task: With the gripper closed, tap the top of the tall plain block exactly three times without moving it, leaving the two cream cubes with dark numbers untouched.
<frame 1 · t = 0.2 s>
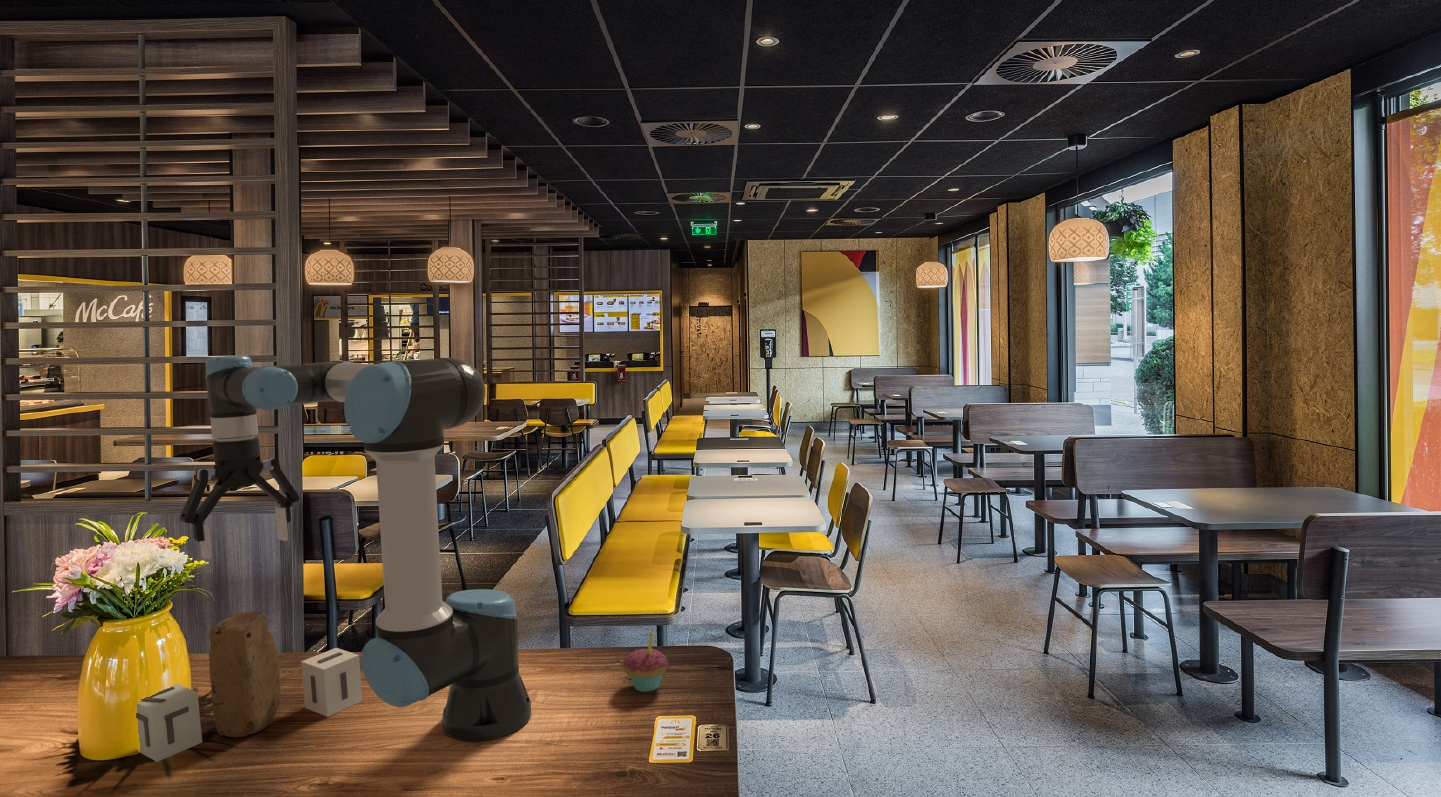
hand: (246, 548, 156), 28 cm above the table, tool pointing down, fingers open, 13 cm apart
numbered cube one: (333, 704, 153), on the table
numbered cube seven: (169, 746, 139), on the table
block: (251, 725, 146), on the table
cupcake: (646, 687, 157), on the table
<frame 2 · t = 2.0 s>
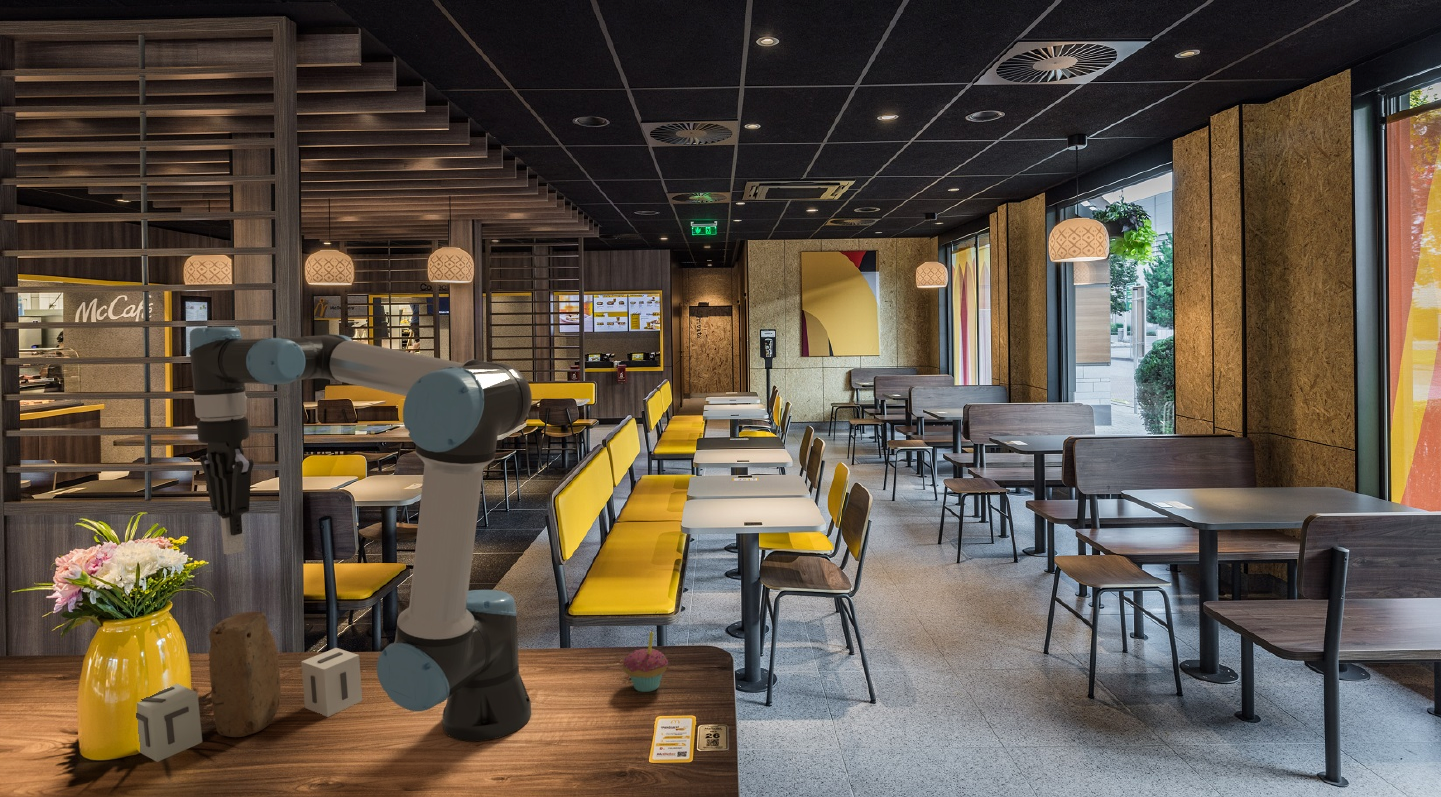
hand: (234, 551, 142), 32 cm above the table, tool pointing down, fingers closed
nothing on the table moved.
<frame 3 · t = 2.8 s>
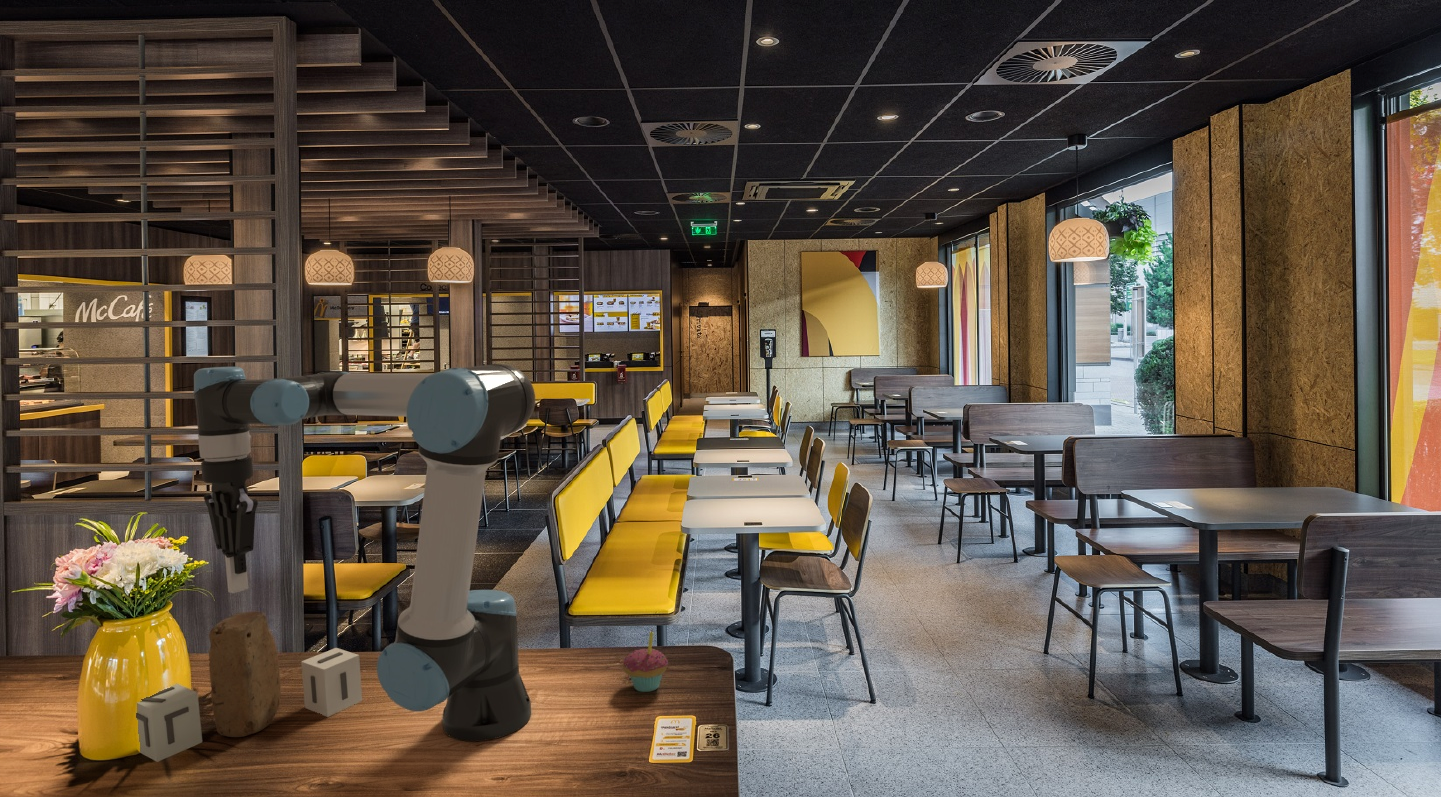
hand: (238, 590, 143), 25 cm above the table, tool pointing down, fingers closed
nothing on the table moved.
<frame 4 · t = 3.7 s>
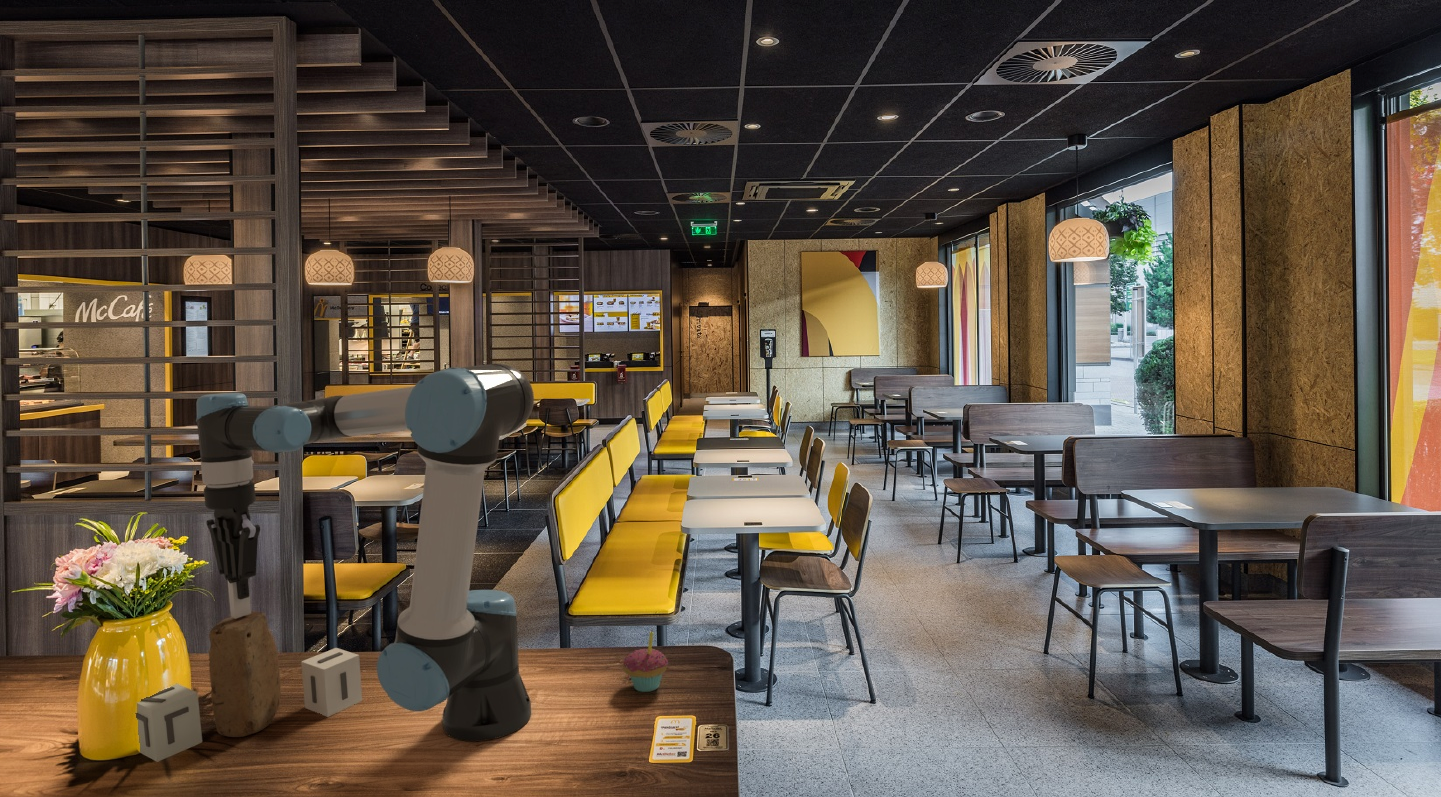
hand: (241, 615, 143), 20 cm above the table, tool pointing down, fingers closed
block: (251, 725, 146), on the table, touching gripper
everything else where it was.
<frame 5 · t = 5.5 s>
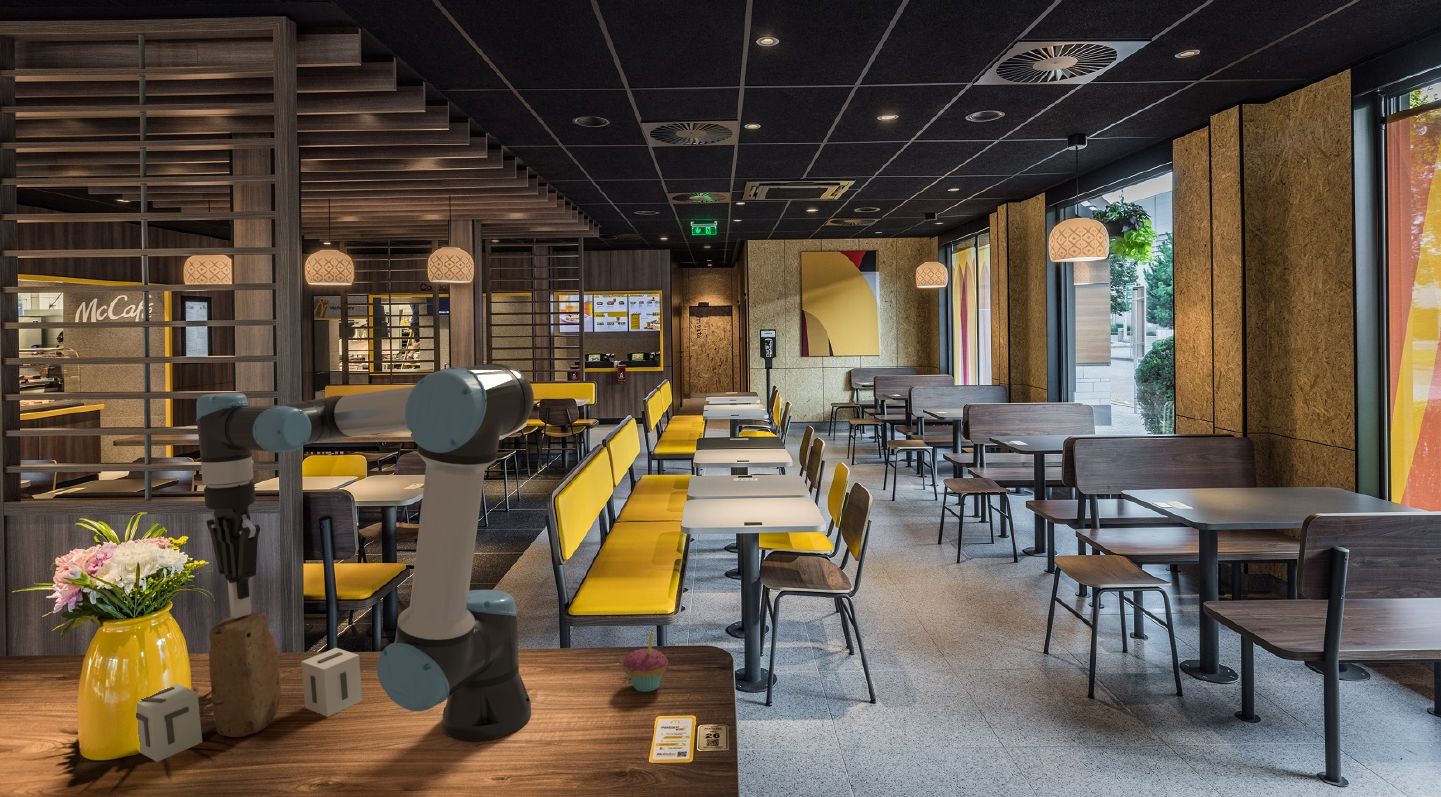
hand: (241, 615, 143), 20 cm above the table, tool pointing down, fingers closed
nothing on the table moved.
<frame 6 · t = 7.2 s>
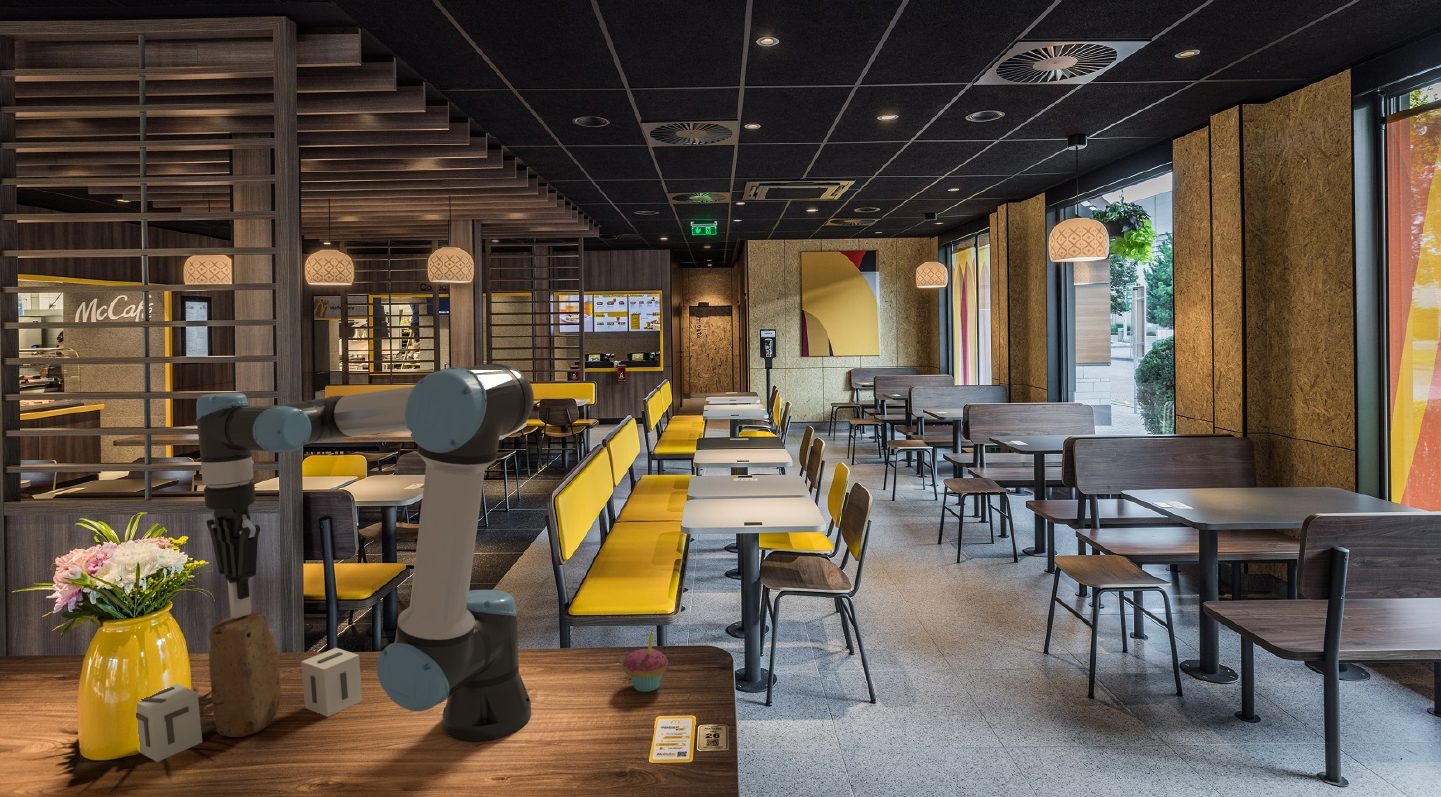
hand: (241, 615, 143), 20 cm above the table, tool pointing down, fingers closed
nothing on the table moved.
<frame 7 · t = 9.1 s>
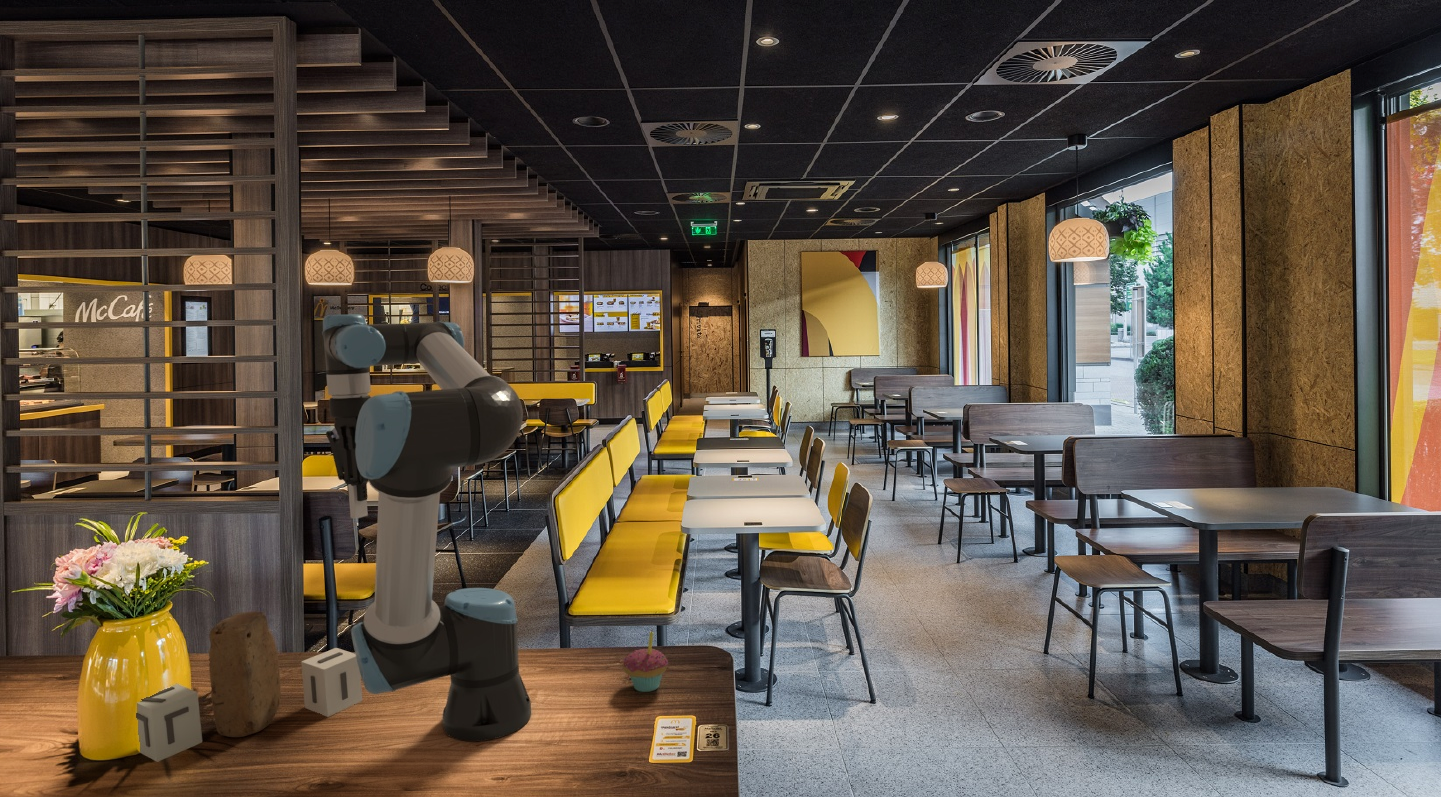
hand: (359, 516, 159), 33 cm above the table, tool pointing down, fingers closed
block: (251, 725, 146), on the table
everything else where it was.
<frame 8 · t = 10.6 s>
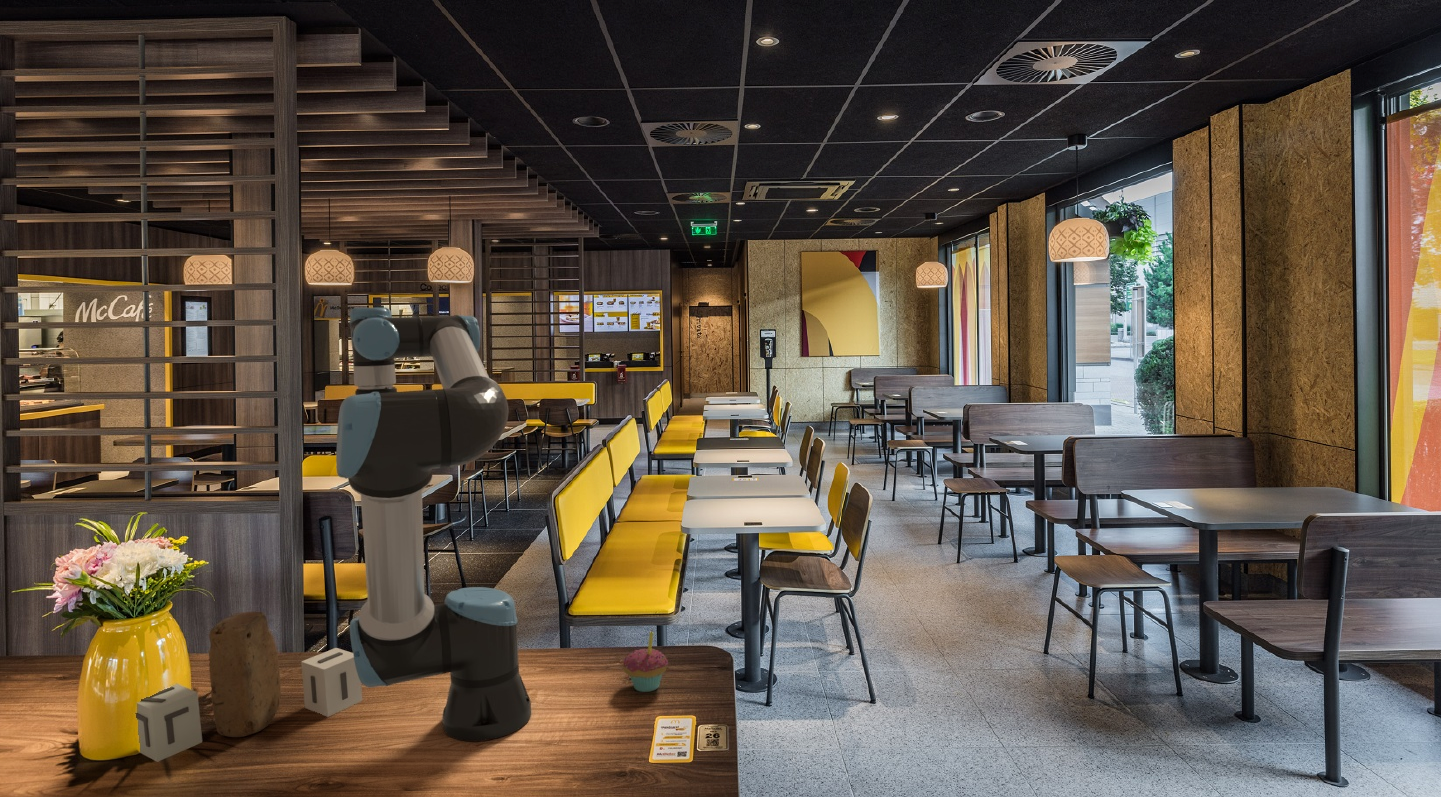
hand: (384, 504, 163), 34 cm above the table, tool pointing down, fingers closed
nothing on the table moved.
at the end: block moved 0.2 cm from its start; block tilted 0°; numbered cube one moved 0.1 cm from its start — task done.
